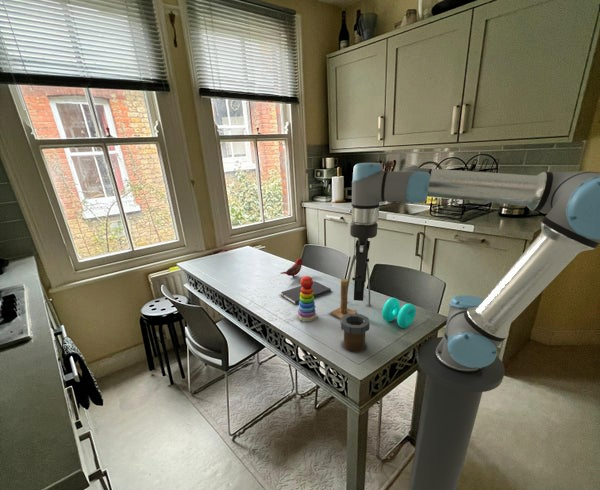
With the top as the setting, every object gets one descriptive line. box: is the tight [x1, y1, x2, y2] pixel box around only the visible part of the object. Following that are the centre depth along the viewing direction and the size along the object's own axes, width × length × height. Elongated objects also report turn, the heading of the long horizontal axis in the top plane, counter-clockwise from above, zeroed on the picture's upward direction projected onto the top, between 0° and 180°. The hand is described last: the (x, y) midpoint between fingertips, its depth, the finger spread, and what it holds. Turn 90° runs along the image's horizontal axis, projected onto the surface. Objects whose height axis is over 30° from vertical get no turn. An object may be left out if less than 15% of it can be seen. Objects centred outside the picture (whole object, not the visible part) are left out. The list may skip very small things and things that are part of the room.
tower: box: [330, 278, 358, 320], centre depth 132 cm, size 8×8×16 cm
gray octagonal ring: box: [340, 313, 371, 334], centre depth 111 cm, size 10×10×2 cm
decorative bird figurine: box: [280, 257, 304, 279], centre depth 171 cm, size 3×18×10 cm, turn 136°
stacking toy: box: [297, 275, 317, 322], centre depth 130 cm, size 8×8×19 cm
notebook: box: [280, 280, 331, 305], centre depth 155 cm, size 13×2×21 cm
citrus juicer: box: [347, 238, 371, 307], centre depth 138 cm, size 11×10×30 cm
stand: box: [343, 322, 367, 353], centre depth 113 cm, size 8×8×8 cm
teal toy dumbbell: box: [381, 297, 417, 329], centre depth 125 cm, size 10×10×10 cm
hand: (360, 290), depth 98 cm, fingers open, 13 cm apart
